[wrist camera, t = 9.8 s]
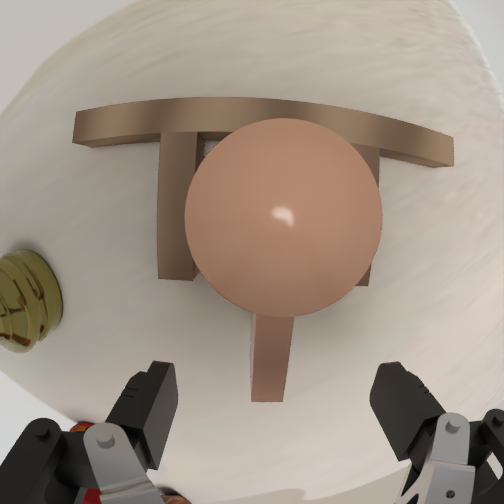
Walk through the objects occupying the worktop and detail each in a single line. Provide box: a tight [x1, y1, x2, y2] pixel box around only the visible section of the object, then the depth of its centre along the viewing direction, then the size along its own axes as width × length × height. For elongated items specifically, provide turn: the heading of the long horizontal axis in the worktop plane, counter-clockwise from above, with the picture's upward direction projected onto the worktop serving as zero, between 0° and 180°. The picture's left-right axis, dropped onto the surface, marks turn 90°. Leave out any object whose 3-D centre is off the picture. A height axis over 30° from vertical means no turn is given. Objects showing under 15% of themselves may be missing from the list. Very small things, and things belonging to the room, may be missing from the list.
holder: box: [72, 97, 454, 286], centre depth 15 cm, size 24×10×2 cm, turn 87°
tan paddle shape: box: [185, 118, 382, 402], centre depth 13 cm, size 11×6×9 cm, turn 177°
